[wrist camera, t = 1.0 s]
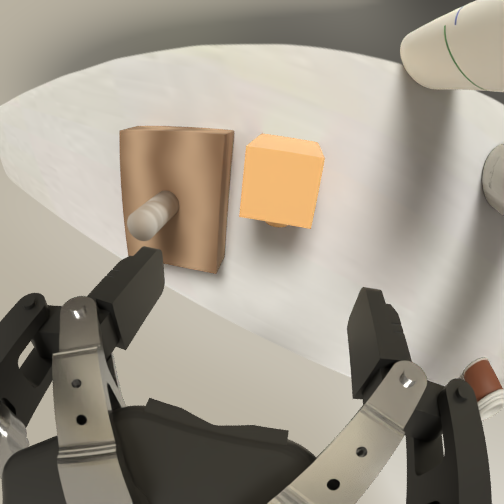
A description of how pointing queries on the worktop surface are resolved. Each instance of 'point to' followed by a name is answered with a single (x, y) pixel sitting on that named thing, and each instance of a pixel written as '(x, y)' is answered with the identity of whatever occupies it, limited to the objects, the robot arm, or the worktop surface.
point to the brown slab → (177, 192)
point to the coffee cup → (485, 387)
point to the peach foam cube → (281, 180)
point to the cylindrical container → (459, 49)
